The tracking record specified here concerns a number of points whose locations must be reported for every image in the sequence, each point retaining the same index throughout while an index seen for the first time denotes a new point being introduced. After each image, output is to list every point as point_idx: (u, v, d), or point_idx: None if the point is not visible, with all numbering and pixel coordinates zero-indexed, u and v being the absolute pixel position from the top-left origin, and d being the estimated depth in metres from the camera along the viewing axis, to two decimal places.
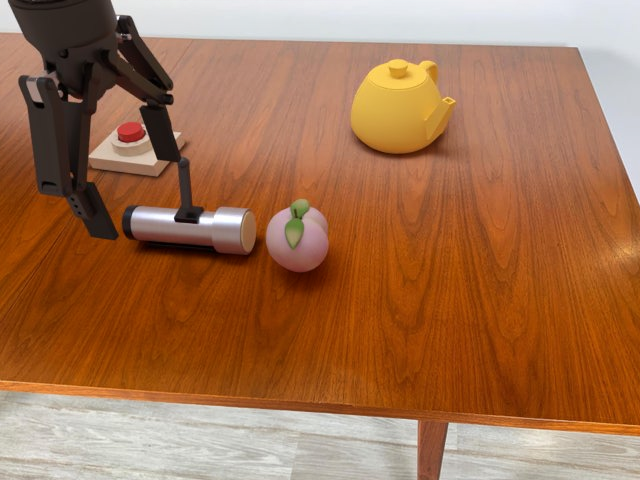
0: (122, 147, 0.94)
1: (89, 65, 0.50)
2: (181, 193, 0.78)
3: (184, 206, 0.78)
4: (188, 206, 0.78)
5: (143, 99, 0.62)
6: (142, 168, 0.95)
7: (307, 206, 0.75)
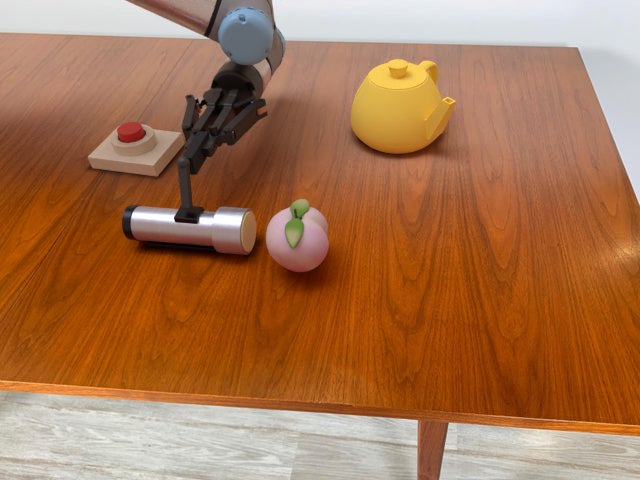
0: (122, 147, 0.94)
1: None
2: (181, 193, 0.78)
3: (184, 206, 0.78)
4: (188, 206, 0.78)
5: (201, 129, 0.83)
6: (142, 168, 0.95)
7: (307, 206, 0.75)
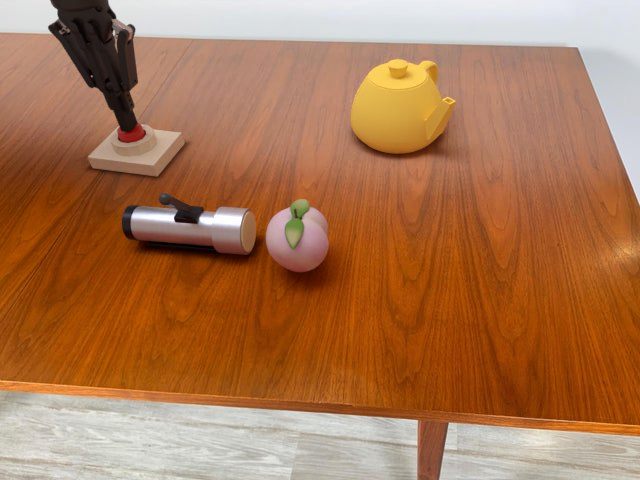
0: (122, 147, 0.94)
1: None
2: (176, 209, 0.77)
3: (184, 212, 0.78)
4: (188, 212, 0.78)
5: (105, 84, 0.89)
6: (142, 168, 0.95)
7: (307, 206, 0.75)
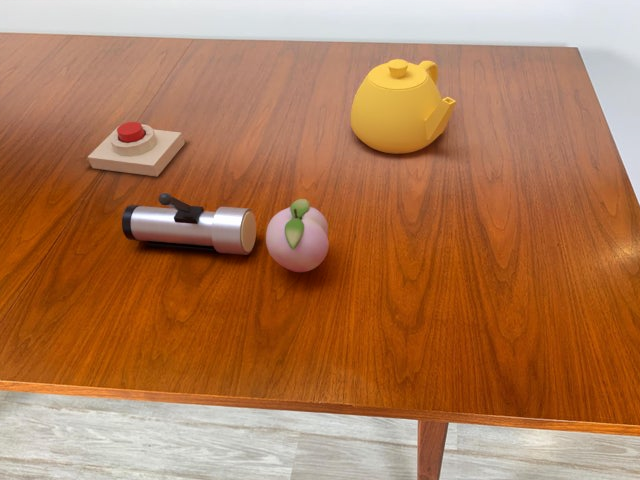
0: (122, 147, 0.94)
1: None
2: (176, 209, 0.77)
3: (184, 212, 0.78)
4: (188, 212, 0.78)
5: None
6: (142, 168, 0.95)
7: (307, 206, 0.75)
